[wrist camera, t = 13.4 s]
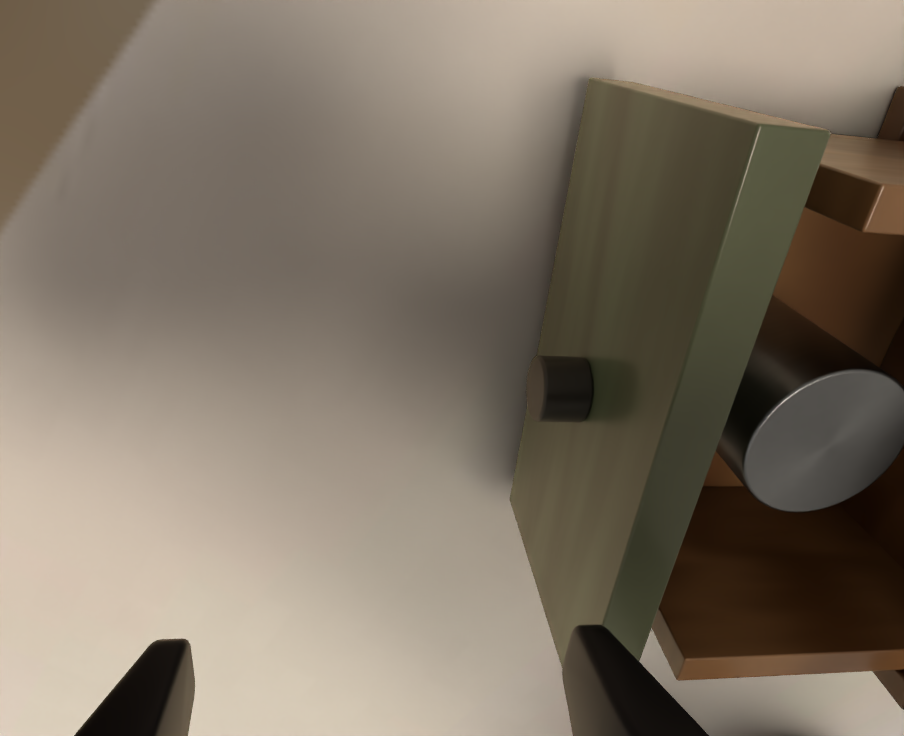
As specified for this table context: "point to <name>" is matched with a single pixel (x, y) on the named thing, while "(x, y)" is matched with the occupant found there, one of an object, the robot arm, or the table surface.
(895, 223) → the drawer
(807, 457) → the cylinder
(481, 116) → the table surface
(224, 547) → the table surface
